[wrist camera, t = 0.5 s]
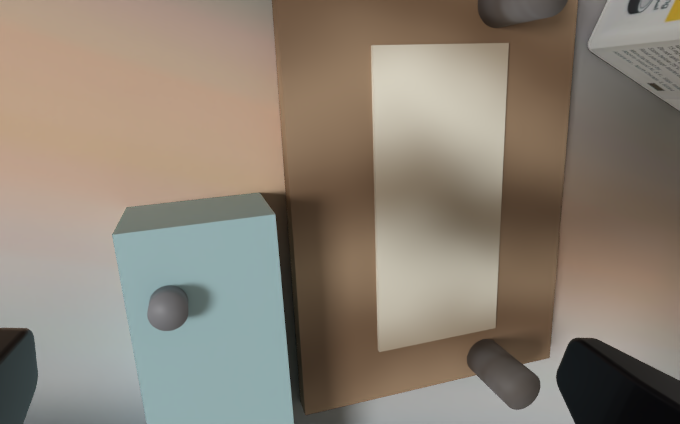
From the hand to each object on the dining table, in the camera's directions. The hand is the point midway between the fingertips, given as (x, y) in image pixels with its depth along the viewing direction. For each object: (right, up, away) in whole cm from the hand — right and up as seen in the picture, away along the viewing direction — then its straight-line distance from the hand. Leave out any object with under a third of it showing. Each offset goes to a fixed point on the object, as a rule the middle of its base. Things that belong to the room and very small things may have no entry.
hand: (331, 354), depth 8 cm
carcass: (+4, +3, +14) cm, 15 cm away
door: (-5, -3, +12) cm, 14 cm away
